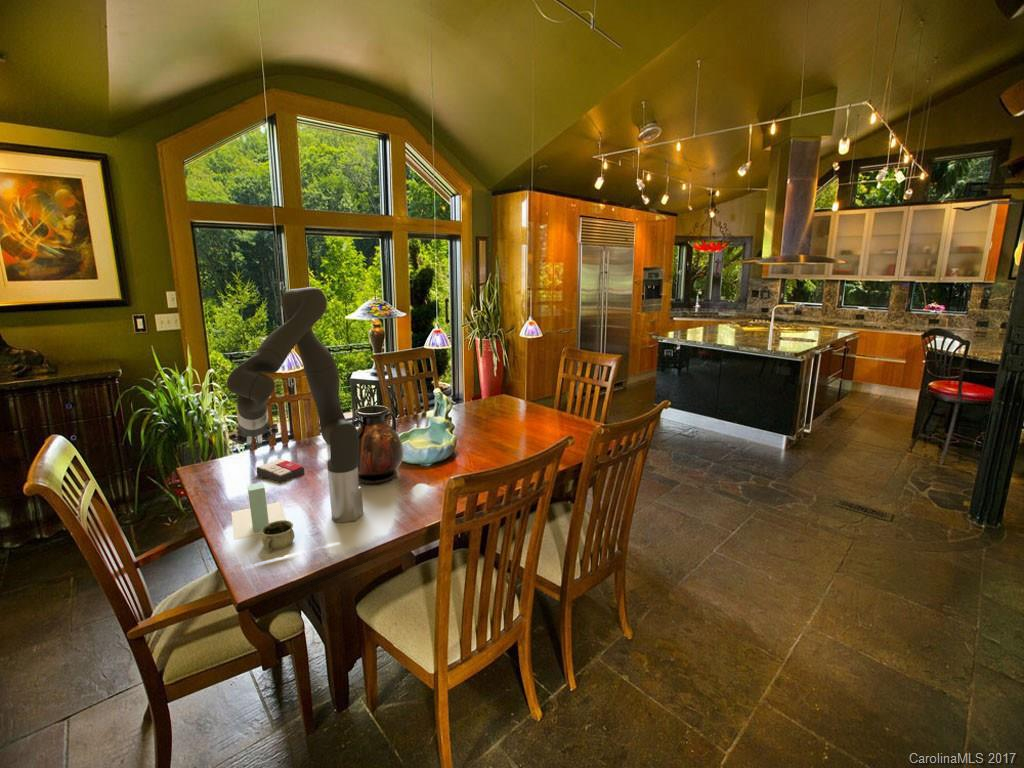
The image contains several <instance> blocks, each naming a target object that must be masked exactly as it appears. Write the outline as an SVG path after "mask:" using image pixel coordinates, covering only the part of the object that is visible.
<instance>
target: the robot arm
mask: <svg viewBox="0 0 1024 768" xmlns="http://www.w3.org/2000/svg"><path fill="white" fill-rule="evenodd" d="M281 305H282V310H283V313H284V316H285V319H286V321H285V322H284V323H283V324H281V325H280V326H279V327H277V328H276V329H274V330H273V331H272V332H271V333H269V334H268V335H267V336H266V338H265V339H264V340H263V341H262V343H260V345H259V347H258V348H257V349H256V351H255V352H254V354H253V355H251V356H250V357H249V358H247V359H246V360H245V361H243V362H242V363H240V364H239V365H238V366H237V367H235V368H234V369H233V370H232V371H231V372H230V374H229V375H228V377H227V380H226V388H227V390H228V391H229V392H230V393H232V394H234V395H237V400H236V405H237V413H236V415H237V418H236V419H237V427H236V430H233V429H229V430H228V431H227V433H228V435H227V436H228V440H230V441H232V442H234V443H237V444H239V445H240V446H241V445H245V444H246V448H247V449H250V450H253V442H252V441H253V440H252V439H253V438H255V442H256V448H257V449H260V447H262V446H263V441H266V442H267V441H269V440H270V439H272V438H273V437H274V436H275V435H277V434H278V433H279V427H278V424H277V423H273V424H272V425H271V424H270V423H269V411H268V401H269V399H270V397H271V396H272V394H273V392H274V390H275V388H276V386H275V385H276V384H275V380H274V379H273V378H272V377H271V376H269V375H267V374H275V373H277V372H279V370H280V369H281V368H282V365H283V364H284V362H285V361H286V359H287V358H288V356H289V355H290V353H291V352H292V350H293V349H294V348H295V346H297V347H296V348H297V350H298V353H299V356H300V360H301V362H302V366H303V371H304V374H305V377H306V381H307V384H308V387H309V389H310V393H311V396H312V398H313V401H314V403H315V407H316V410H317V415H318V421H319V426H320V432H321V436H322V439H323V441H324V442H325V443H327V445H329V454H330V458H329V459H327V464H326V465H327V474H328V476H327V477H328V489H329V500H330V512H331V519H332V520H333V521H334V522H336V523H349V522H356V521H357V520H358V519H359V518H360V517H361V516H362V515H363V513H364V503H363V502H364V501H363V487H362V486H360V483H359V479H358V464H357V462H358V459H359V437H358V431H357V429H358V428H357V427H356V425H355V426H354V425H353V424H351V423H352V422H349V421H348V420H347V419H346V416H345V415H344V412H343V409H342V406H341V402H340V382H341V381H340V376H339V371H338V368H337V363H336V361H335V358H334V356H333V354H331V352H330V351H329V350H328V348H327V347H326V346H325V345H324V344H323V343H322V341H320V340H319V339H318V337H317V336H316V334H315V333H314V331H313V329H312V327H313V326H314V325H315V324H316V323H318V321H319V320H320V319H321V318H322V317H323V316H324V314H325V313H326V310H327V305H328V304H327V297H326V295H325V293H324V292H323V291H322V290H321V289H319V288H317V287H312V286H310V287H301V288H291V289H287V290H286V291H284V292H283V293H282V298H281Z"/></svg>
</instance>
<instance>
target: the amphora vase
mask: <svg viewBox="0 0 1024 768" xmlns="http://www.w3.org/2000/svg"><path fill="white" fill-rule="evenodd" d="M354 413H355V415H356V416H357V417H359V418H361V420H360V419H354V420H352V421H351V422H350V423H351V424H353V425H354V426H355V427H356V425H357V424H359V426H358V427H357V428H356V429H357V431H358V437H359V459H358V462H357V464H358V479H359V484H362V485H365V486H378V485H379V484H380V485H384V484H387V483H390V482H392V481H394V480H395V479H396V478H397V477H398V474H399V471H398V468H399V467H400V466H401V463H402V462H403V459H404V453H405V452H404V445H403V441H402V439H401V437H400V436H399V435H398V433H397V419H396V415H395V414H394V413H393V412H391V409H390V407H388V406H385V405H367V406H366V405H365V406H362V407H359V408H357V409H356V410H355V412H354ZM389 417H390V418H391V419H390V420H391V426H390V424H389V423H388V422H387V421H388V418H389Z"/></svg>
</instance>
